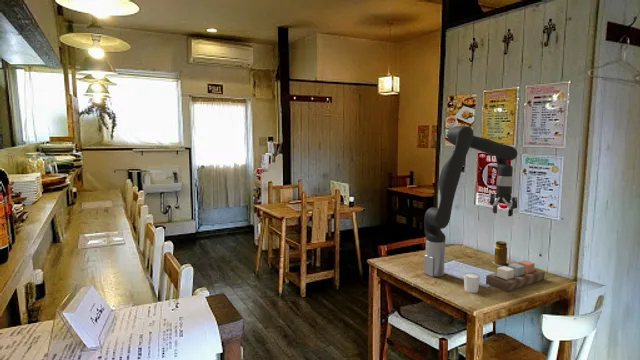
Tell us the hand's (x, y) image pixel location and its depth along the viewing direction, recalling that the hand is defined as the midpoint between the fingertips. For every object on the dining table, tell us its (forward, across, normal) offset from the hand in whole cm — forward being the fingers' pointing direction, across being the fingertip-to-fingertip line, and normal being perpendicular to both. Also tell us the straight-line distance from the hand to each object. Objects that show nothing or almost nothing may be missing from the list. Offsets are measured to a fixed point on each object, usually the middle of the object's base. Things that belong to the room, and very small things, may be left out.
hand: (502, 214), depth 203 cm
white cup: (+27, +15, -43) cm, 53 cm away
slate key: (+23, +20, -17) cm, 35 cm away
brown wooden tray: (+27, +20, -17) cm, 37 cm away
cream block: (+23, +19, -25) cm, 39 cm away
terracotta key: (+23, +20, -9) cm, 32 cm away
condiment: (+27, +1, +1) cm, 27 cm away
